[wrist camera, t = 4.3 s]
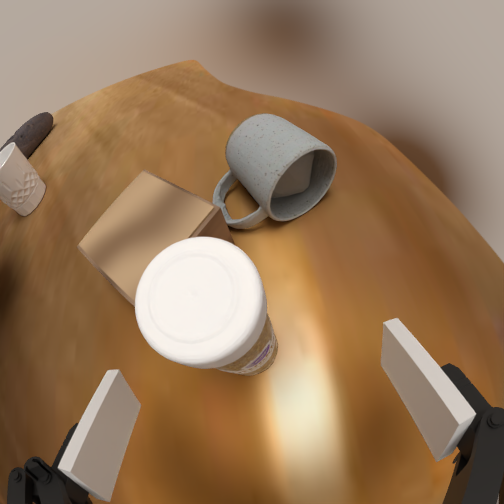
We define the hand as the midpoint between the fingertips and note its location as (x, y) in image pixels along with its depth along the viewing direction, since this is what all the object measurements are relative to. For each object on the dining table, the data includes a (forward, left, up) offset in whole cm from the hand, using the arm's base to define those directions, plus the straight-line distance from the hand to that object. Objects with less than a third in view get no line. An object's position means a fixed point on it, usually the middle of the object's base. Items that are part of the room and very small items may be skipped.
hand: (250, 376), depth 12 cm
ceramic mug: (-9, +14, -9) cm, 19 cm away
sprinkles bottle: (-2, +1, -9) cm, 9 cm away
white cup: (-43, -3, -9) cm, 44 cm away
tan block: (-13, +3, -8) cm, 16 cm away
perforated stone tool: (-62, +4, -9) cm, 63 cm away
